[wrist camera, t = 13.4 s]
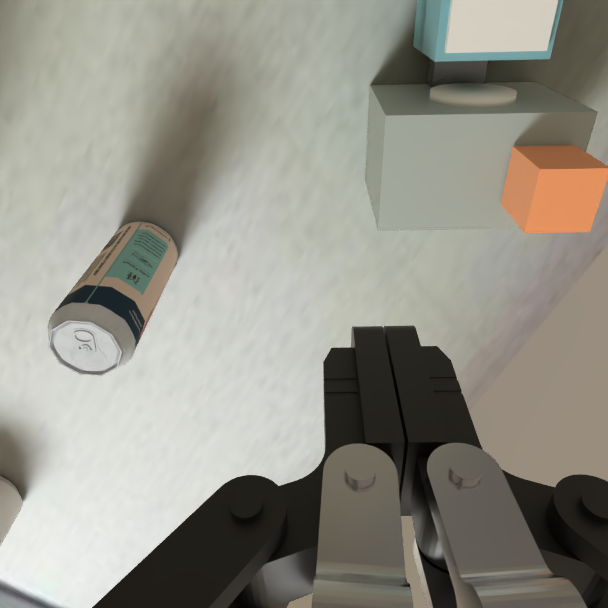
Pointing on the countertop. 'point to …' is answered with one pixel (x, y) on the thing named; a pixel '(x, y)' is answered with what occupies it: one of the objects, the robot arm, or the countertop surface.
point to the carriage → (486, 29)
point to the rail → (456, 72)
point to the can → (8, 506)
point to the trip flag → (553, 188)
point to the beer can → (113, 301)
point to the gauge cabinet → (458, 149)
